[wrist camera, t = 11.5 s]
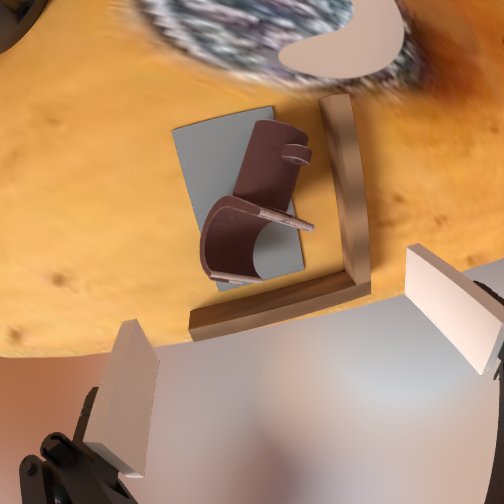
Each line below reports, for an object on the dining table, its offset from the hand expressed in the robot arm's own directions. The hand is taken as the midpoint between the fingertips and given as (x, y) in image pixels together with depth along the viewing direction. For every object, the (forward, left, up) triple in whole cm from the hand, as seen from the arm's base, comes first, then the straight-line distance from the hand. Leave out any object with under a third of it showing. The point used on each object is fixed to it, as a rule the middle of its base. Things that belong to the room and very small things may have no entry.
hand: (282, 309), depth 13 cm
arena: (+2, +2, -21) cm, 21 cm away
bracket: (0, +1, -21) cm, 21 cm away
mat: (0, 0, -21) cm, 21 cm away
